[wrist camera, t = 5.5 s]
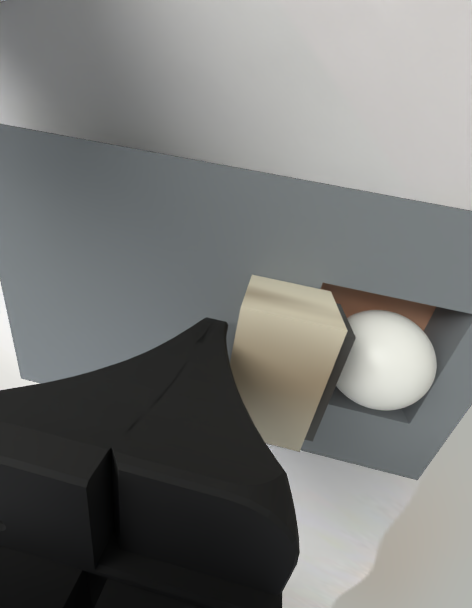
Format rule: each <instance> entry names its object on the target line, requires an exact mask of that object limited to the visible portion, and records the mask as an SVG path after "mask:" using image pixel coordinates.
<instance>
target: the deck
mask: <svg viewBox="0 0 472 608" xmlns="http://www.w3.org/2000/svg"><path fill="white" fill-rule="evenodd" d="M252 275H256V276H261V277H266V278H271V279H275V280H280V281H285V282H289V283H294V284H299V285H303V286H308V287H313V288H318V289H322V290H327V291H331V293H332V295H333V298H334V300H335V302H336V303H338V304H341V306H342V308H343V311H344V313H345V315H346V317H347V318H348V317H349V316H351V315H353V314H356V313H359V312H362V311H367V310H385V311H390V312H394V313H397V314H400V315H402V316H404V317H406V318H408V319H410V320H411V321H413V322H414V323H415V324H416V325H418V326H419V327H420V328H421V329H422V330H423V331H424V333H425V334H426V335H427V336H428V338H429V340H430V341H431V343H432V345H433V348H434V351H435V354H436V362H437V369H436V375H435V378H434V381H433V383H432V385H431V387H430V389H429V390H428V392H427V393H426V394H425V395H424V396H423V397H422V398H421V399H419V400H418V401H417V402H415V403H413V404H412V405H409V406H407V407H404V408H401V409H396V410H387V411H386V410H376V409H371V408H367V407H364V406H362V405H359V404H357V403H355V402H354V401H352V400H351V399H349V398H348V397H346V396H345V395H344V394H343V393H342V392H341V391H340V390H339V389H338V388H337V386H336V387H335V389H334V391H333V394H332V396H331V399H330V401H329V403H328V406H327V408H326V411H325V413H324V415H323V418H322V420H321V423H320V425H319V427H318V430H317V432H316V435H315V437H314V439H313V442H312V441H308V440H304V442H303V444H302V447H301V450H302V451H306V452H310V453H314V454H318V455H322V456H325V457H329V458H333V459H337V460H341V461H345V462H349V463H353V464H357V465H361V466H364V467H368V468H372V469H376V470H380V471H384V472H388V473H392V474H396V475H399V476H403V477H407V478H411V479H415V480H418V479H419V477H420V476H421V475H422V473H423V472H424V470H425V469H426V468H427V466H428V465H429V463H430V462H431V461H432V459H433V458H434V456H435V455H436V454H437V452H438V451H439V449H440V448H441V447H442V445H443V444H444V442H445V441H446V440H447V438H448V437H449V435H450V434H451V433H452V431H453V430H454V429H455V427H456V426H457V424H458V423H459V422H460V420H461V419H462V417H463V416H464V415H465V413H466V412H467V410H468V409H469V408H470V406H471V405H472V211H470V210H464V209H459V208H453V207H448V206H443V205H437V204H432V203H426V202H421V201H416V200H410V199H405V198H399V197H394V196H388V195H383V194H378V193H372V192H367V191H361V190H356V189H351V188H345V187H340V186H334V185H329V184H323V183H318V182H313V181H307V180H302V179H296V178H291V177H286V176H280V175H275V174H269V173H264V172H258V171H253V170H248V169H242V168H237V167H231V166H226V165H221V164H215V163H210V162H204V161H199V160H193V159H188V158H183V157H177V156H172V155H166V154H161V153H156V152H150V151H145V150H139V149H134V148H128V147H123V146H118V145H112V144H107V143H101V142H96V141H91V140H85V139H80V138H74V137H69V136H63V135H58V134H53V133H47V132H42V131H36V130H31V129H26V128H20V127H15V126H9V125H4V124H0V281H1V286H2V290H3V295H4V300H5V304H6V309H7V314H8V319H9V323H10V328H11V333H12V337H13V342H14V347H15V352H16V356H17V361H18V366H19V370H20V375H21V378H22V379H26V380H29V381H33V382H37V383H46V382H51V381H55V380H60V379H64V378H68V377H73V376H76V375H80V374H84V373H88V372H91V371H95V370H98V369H101V368H104V367H107V366H110V365H113V364H116V363H119V362H122V361H125V360H128V359H130V358H133V357H135V356H138V355H140V354H142V353H145V352H147V351H149V350H151V349H153V348H155V347H157V346H159V345H161V344H163V343H165V342H167V341H168V340H170V339H172V338H174V337H175V336H177V335H179V334H180V333H182V332H184V331H185V330H187V329H188V328H190V327H192V326H193V325H195V324H196V323H198V322H199V321H201V320H202V319H204V318H206V317H208V318H212V319H216V320H221V321H225V322H227V324H228V330H227V336H226V342H227V350H228V357H229V362H230V360H231V355H232V349H233V344H234V339H235V334H236V329H237V324H238V319H239V314H240V309H241V305H242V302H243V299H244V296H245V293H246V290H247V287H248V284H249V282H250V279H251V276H252Z"/></svg>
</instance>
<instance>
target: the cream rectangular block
mask: <svg viewBox="0 0 472 608" xmlns="http://www.w3.org/2000/svg"><path fill="white" fill-rule="evenodd" d="M355 339H356V337H355V334H354V332H353V330H352V328H351V326H350V324H349V321H348V319H347V317H346V315H345V313H344V311H343V308H342V306H341V304H338V303H336V302H335V300H334V298H333V295H332V293H331V291H327V290H322V289H318V288H313V287H308V286H303V285H299V284H294V283H289V282H285V281H280V280H275V279H271V278H266V277H261V276H256V275H252V276H251V279H250V282H249V284H248V287H247V290H246V293H245V296H244V299H243V302H242V305H241V309H240V314H239V319H238V324H237V329H236V334H235V339H234V344H233V349H232V355H231V360H230V366H231V370H232V373H233V377H234V380H235V383H236V386H237V388H238V391H239V393H240V396H241V398H242V401H243V403H244V405H245V407H246V409H247V411H248V413H249V415H250V417H251V419H252V421H253V423H254V425H255V427H256V428H257V430H258V432H259V433H260V435H261V437H262V438H263V440H264V442H265V443H267V444H271V445H275V446H279V447H283V448H287V449H290V450H294V451H298V452H300V450H301V447H302V444H303V442H304V440H308V441H312V442H313V439H314V437H315V435H316V432H317V430H318V427H319V425H320V423H321V420H322V418H323V415H324V413H325V411H326V408H327V406H328V403H329V401H330V399H331V396H332V394H333V391H334V389H335V387H336V384H337V382H338V379H339V377H340V375H341V372H342V370H343V367H344V365H345V363H346V360H347V358H348V355H349V353H350V351H351V348H352V346H353V343H354V341H355Z"/></svg>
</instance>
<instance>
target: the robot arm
mask: <svg viewBox="0 0 472 608" xmlns="http://www.w3.org/2000/svg"><path fill="white" fill-rule="evenodd" d="M227 330H228V324H227V322H225V321H221V320H216V319H212V318H208V317H206V318H204V319H202V320H201V321H199V322H198V323H196V324H195V325H193V326H192V327H190V328H188V329H187V330H185V331H184V332H182V333H180V334H179V335H177V336H175V337H174V338H172V339H170V340H168V341H167V342H165V343H163V344H161V345H159V346H157V347H155V348H153V349H151V350H149V351H147V352H145V353H142V354H140V355H138V356H135V357H133V358H130V359H128V360H125V361H122V362H119V363H116V364H113V365H110V366H107V367H104V368H101V369H98V370H95V371H91V372H88V373H84V374H80V375H76V376H73V377H68V378H64V379H60V380H55V381H51V382H46V383H41V384H36V385H30V386H24V387H18V388H12V389H6V390H0V608H282V591H283V589H284V587H285V585H286V584H287V582H288V580H289V578H290V576H291V574H292V572H293V570H294V568H295V566H296V565H297V561H298V557H299V553H300V552H299V535H298V527H297V520H296V514H295V508H294V503H293V499H292V494H291V490H290V486H289V482H288V478H287V474H286V472H285V471H284V470H283V468H282V467H281V465H280V464H279V463H278V461H277V460H276V458H275V457H274V455H273V454H272V452H271V451H270V449H269V448H268V446H267V445H266V443H265V442H264V440H263V438H262V437H261V435H260V433H259V432H258V430H257V428H256V427H255V425H254V423H253V421H252V419H251V417H250V415H249V413H248V411H247V409H246V407H245V405H244V403H243V401H242V398H241V396H240V393H239V391H238V388H237V386H236V383H235V380H234V377H233V373H232V370H231V366H230V362H229V357H228V350H227V342H226V336H227Z"/></svg>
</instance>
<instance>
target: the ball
mask: <svg viewBox="0 0 472 608" xmlns="http://www.w3.org/2000/svg"><path fill="white" fill-rule="evenodd" d="M347 319H348V321H349V324H350V326H351V328H352V330H353V332H354V334H355V337H356V339H355V341H354V343H353V346H352V348H351V351H350V353H349V355H348V358H347V360H346V363H345V365H344V367H343V370H342V372H341V375H340V377H339V379H338V382H337V384H336V386H337V388H338V389H339V390H340V391H341V392H342V393H343V394H344V395H345V396H346V397H348V398H349V399H351V400H352V401H354V402H355V403H357V404H359V405H362V406H364V407H367V408H371V409H376V410H386V411H387V410H396V409H401V408H404V407H407V406H409V405H412V404H413V403H415V402H417V401H418V400H419V399H421V398H422V397H423V396H424V395H425V394H426V393H427V392H428V390H429V389H430V387H431V385H432V383H433V381H434V378H435V375H436V369H437V362H436V354H435V351H434V348H433V345H432V343H431V341H430V340H429V338H428V336H427V335H426V334H425V333H424V331H423V330H422V329H421V328H420V327H419V326H418V325H416V324H415V323H414V322H413V321H411V320H410V319H408V318H406V317H404V316H402V315H400V314H397V313H394V312H390V311H385V310H367V311H362V312H359V313H356V314H353V315H351V316H349V317H348V318H347Z"/></svg>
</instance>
